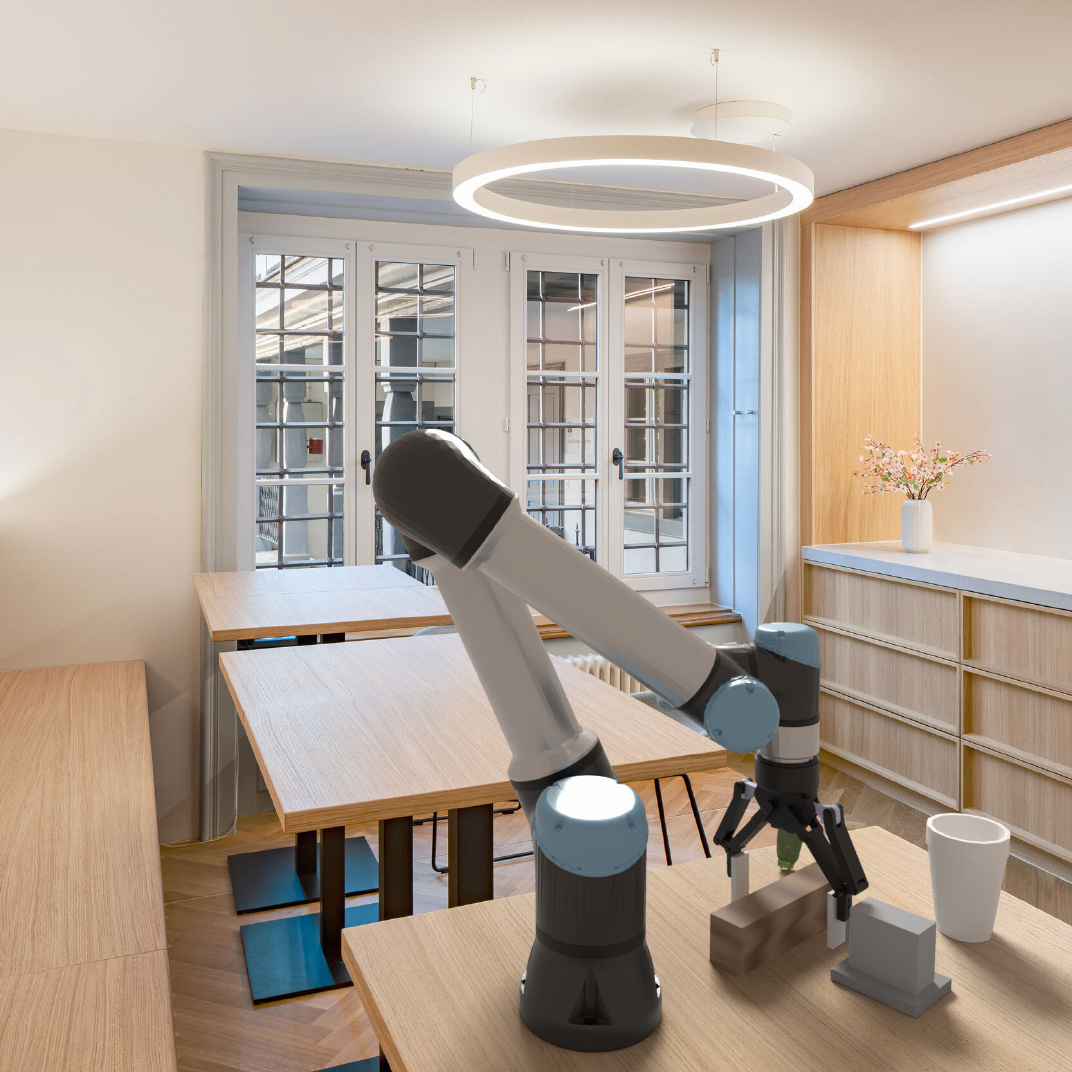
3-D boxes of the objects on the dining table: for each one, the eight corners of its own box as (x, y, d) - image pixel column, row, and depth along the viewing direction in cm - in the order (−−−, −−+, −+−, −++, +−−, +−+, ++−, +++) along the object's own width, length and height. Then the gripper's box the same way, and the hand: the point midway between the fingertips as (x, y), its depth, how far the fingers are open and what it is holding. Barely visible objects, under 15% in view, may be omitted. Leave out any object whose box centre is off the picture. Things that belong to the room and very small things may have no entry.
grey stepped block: (915, 1018, 101) (918, 945, 100) (830, 978, 108) (832, 910, 108) (951, 989, 106) (954, 919, 105) (867, 953, 114) (869, 888, 113)
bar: (740, 979, 109) (741, 928, 108) (709, 962, 112) (710, 913, 112) (848, 916, 123) (850, 871, 123) (818, 903, 127) (819, 859, 126)
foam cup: (928, 943, 116) (932, 839, 115) (917, 907, 125) (920, 810, 124) (1014, 953, 114) (1019, 846, 112) (997, 916, 123) (1001, 817, 121)
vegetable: (783, 859, 139) (786, 723, 138) (812, 867, 137) (816, 729, 135) (770, 869, 136) (773, 731, 134) (799, 878, 133) (802, 737, 131)
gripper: (901, 770, 109) (898, 950, 111) (721, 725, 127) (722, 880, 129) (866, 787, 104) (864, 975, 106) (685, 737, 122) (686, 898, 124)
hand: (786, 923), depth 118 cm, fingers open, 13 cm apart
